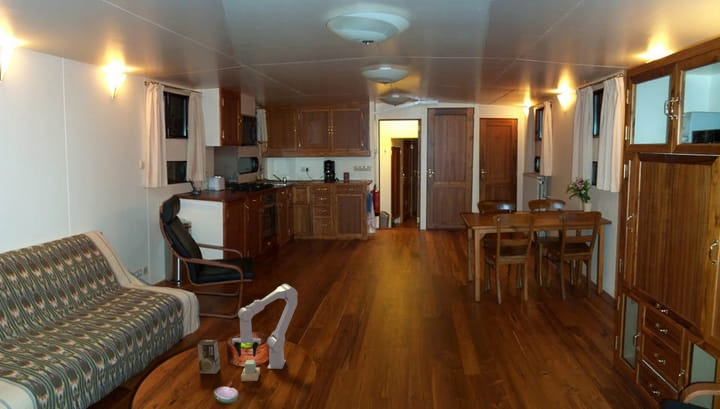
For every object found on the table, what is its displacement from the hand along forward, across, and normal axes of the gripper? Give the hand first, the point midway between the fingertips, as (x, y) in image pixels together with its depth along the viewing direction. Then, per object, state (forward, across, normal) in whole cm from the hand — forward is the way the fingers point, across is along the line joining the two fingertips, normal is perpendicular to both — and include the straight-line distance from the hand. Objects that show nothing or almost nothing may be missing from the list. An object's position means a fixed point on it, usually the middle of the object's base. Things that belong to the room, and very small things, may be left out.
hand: (247, 356), depth 259 cm
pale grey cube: (+6, +3, -4) cm, 8 cm away
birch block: (+10, +3, -4) cm, 11 cm away
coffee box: (+10, -21, +2) cm, 23 cm away
